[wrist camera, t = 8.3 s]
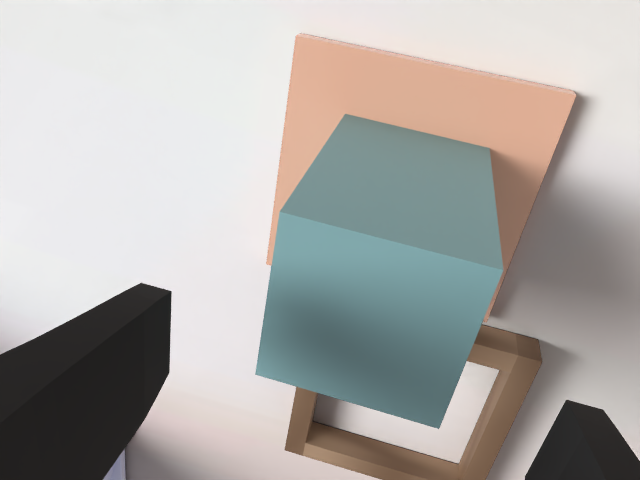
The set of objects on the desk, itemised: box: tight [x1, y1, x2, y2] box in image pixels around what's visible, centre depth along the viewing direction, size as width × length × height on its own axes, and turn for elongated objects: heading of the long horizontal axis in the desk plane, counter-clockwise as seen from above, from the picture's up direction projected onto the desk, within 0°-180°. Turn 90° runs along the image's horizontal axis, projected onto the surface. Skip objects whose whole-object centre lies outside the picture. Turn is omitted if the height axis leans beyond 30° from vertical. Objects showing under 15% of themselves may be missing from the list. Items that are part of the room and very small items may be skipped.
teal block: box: [256, 114, 503, 429], centre depth 15 cm, size 4×4×7 cm
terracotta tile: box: [266, 33, 576, 322], centre depth 18 cm, size 8×8×1 cm
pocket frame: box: [285, 325, 542, 480], centre depth 22 cm, size 8×8×1 cm
